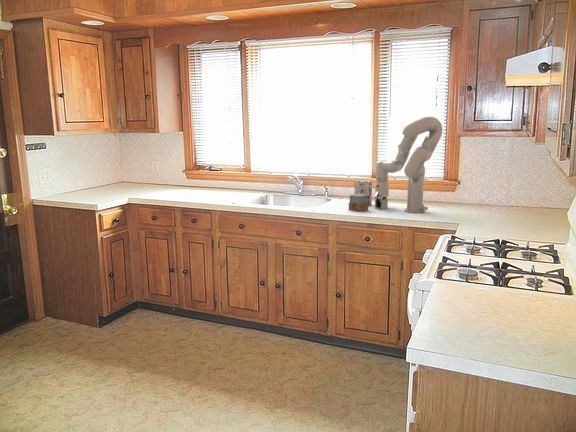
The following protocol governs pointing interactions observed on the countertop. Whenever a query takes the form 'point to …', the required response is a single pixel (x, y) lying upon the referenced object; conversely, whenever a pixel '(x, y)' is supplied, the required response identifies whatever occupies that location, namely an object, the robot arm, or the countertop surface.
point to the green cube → (382, 204)
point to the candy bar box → (364, 189)
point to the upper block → (358, 199)
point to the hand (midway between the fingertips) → (381, 206)
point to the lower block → (358, 207)
